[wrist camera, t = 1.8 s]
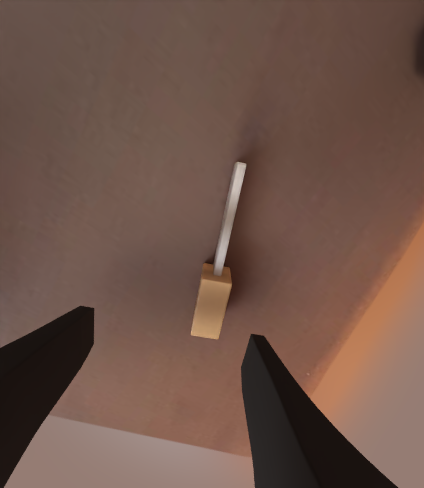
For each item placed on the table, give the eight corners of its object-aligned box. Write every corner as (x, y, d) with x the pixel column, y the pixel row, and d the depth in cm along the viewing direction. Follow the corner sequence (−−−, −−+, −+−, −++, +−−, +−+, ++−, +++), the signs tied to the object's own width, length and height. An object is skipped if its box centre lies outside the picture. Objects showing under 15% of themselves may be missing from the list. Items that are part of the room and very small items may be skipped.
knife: (217, 317, 20) (218, 340, 17) (193, 313, 20) (190, 335, 17) (254, 166, 16) (262, 166, 13) (223, 160, 16) (225, 158, 13)
